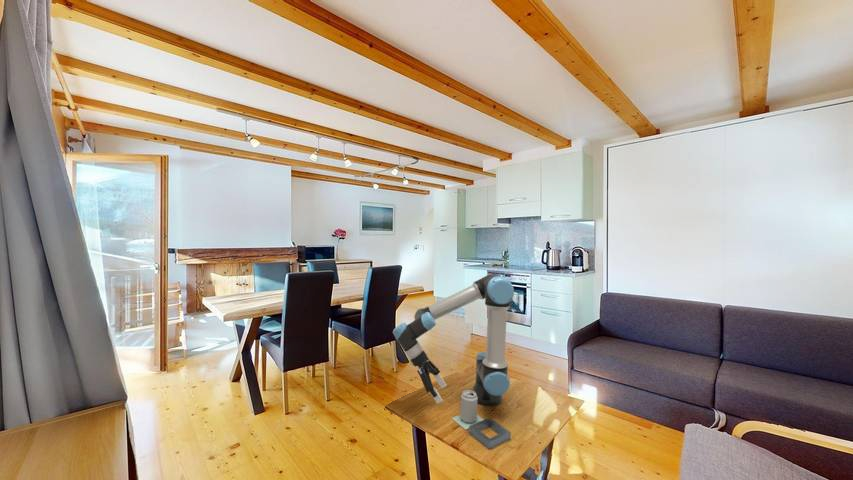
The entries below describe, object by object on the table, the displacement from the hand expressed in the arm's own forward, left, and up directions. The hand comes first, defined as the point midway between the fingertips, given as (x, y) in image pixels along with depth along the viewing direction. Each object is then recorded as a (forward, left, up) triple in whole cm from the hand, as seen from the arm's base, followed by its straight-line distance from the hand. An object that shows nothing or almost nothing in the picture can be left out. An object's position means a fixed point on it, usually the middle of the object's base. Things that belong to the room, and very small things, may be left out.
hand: (442, 394), depth 145 cm
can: (-9, +9, -10) cm, 16 cm away
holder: (-9, +22, -10) cm, 26 cm away
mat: (-9, +9, -10) cm, 16 cm away
